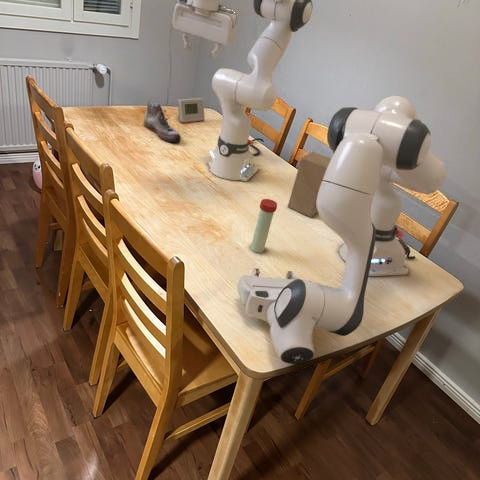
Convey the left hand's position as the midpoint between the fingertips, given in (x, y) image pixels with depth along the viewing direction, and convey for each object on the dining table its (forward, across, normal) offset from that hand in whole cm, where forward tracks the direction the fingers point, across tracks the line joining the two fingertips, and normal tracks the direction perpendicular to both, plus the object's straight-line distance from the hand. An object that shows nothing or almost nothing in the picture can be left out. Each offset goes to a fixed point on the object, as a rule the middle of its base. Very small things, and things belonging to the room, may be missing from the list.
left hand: (200, 53), depth 130 cm
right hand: (+42, -48, +23) cm, 68 cm away
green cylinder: (+48, -37, +8) cm, 61 cm away
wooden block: (+48, -36, -29) cm, 66 cm away
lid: (+32, -37, +8) cm, 49 cm away
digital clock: (+48, +47, -66) cm, 94 cm away
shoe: (+48, +42, -40) cm, 75 cm away
